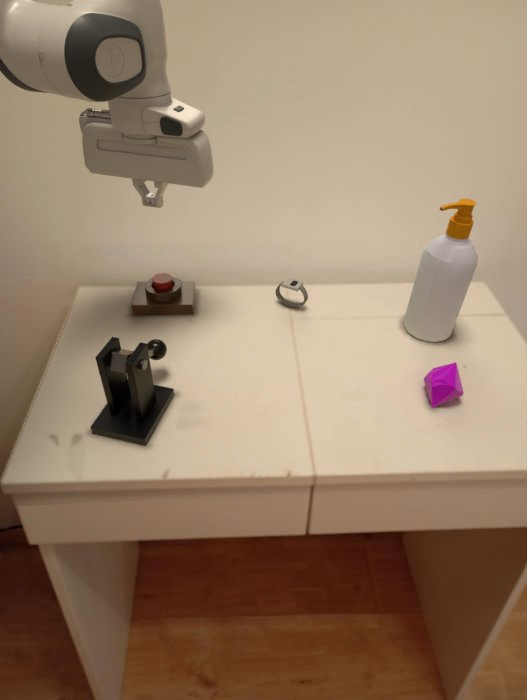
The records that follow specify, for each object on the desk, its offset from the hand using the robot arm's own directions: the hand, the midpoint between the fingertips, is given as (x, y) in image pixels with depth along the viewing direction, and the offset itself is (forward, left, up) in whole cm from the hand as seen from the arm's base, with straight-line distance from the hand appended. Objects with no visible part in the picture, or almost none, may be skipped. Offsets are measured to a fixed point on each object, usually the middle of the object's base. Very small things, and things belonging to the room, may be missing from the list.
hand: (153, 205), depth 77 cm
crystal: (+50, -11, -19) cm, 55 cm away
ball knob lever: (+7, -23, -13) cm, 28 cm away
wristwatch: (+23, +6, -19) cm, 31 cm away
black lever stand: (+7, -27, -19) cm, 34 cm away
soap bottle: (+48, +6, -19) cm, 52 cm away
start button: (0, 0, -15) cm, 15 cm away
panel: (0, 0, -19) cm, 19 cm away
